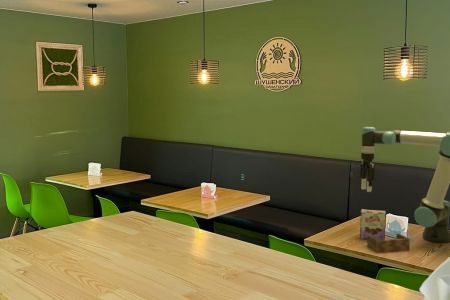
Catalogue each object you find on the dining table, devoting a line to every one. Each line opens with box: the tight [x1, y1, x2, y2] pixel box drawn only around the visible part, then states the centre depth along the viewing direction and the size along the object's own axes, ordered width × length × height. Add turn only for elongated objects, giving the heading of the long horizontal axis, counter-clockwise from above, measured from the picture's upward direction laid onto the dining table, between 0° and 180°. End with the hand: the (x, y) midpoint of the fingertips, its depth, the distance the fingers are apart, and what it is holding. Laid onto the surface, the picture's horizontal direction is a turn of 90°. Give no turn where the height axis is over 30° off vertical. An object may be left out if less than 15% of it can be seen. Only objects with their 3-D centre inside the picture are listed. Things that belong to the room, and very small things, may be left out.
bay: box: [366, 232, 411, 253], centre depth 247 cm, size 19×10×6 cm, turn 101°
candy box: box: [359, 208, 387, 240], centre depth 263 cm, size 14×6×16 cm, turn 71°
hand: (366, 190), depth 277 cm, fingers open, 6 cm apart
